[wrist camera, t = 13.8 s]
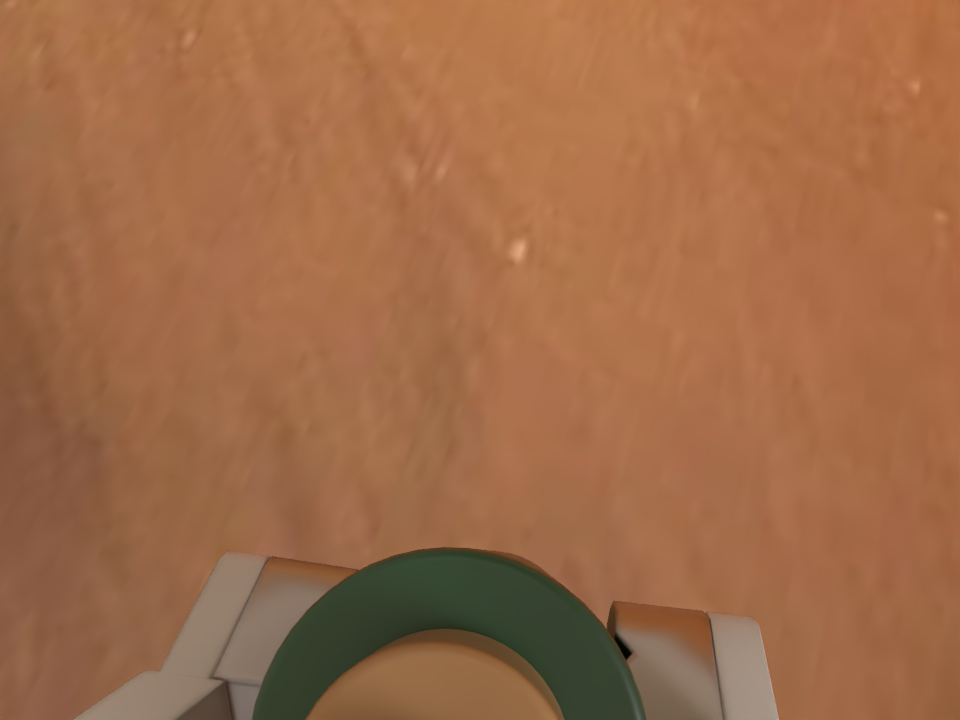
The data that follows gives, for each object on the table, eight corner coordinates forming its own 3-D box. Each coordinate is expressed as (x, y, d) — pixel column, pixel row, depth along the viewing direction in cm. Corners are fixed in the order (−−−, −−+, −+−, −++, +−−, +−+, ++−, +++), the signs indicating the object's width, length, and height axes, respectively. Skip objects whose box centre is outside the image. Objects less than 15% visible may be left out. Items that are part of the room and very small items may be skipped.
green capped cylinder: (453, 742, 15) (254, 1273, 4) (392, 589, 15) (76, 675, 4) (598, 674, 15) (805, 1000, 4) (532, 526, 15) (552, 462, 5)
